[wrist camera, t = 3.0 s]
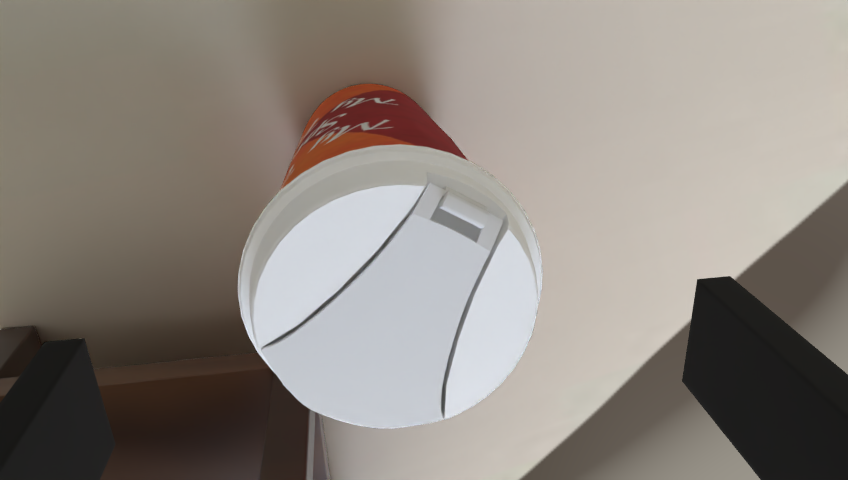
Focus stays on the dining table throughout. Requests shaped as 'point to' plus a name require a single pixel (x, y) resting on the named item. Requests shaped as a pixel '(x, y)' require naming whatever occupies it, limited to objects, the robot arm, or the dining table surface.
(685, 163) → the dining table surface
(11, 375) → the rack
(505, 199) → the paper cup
